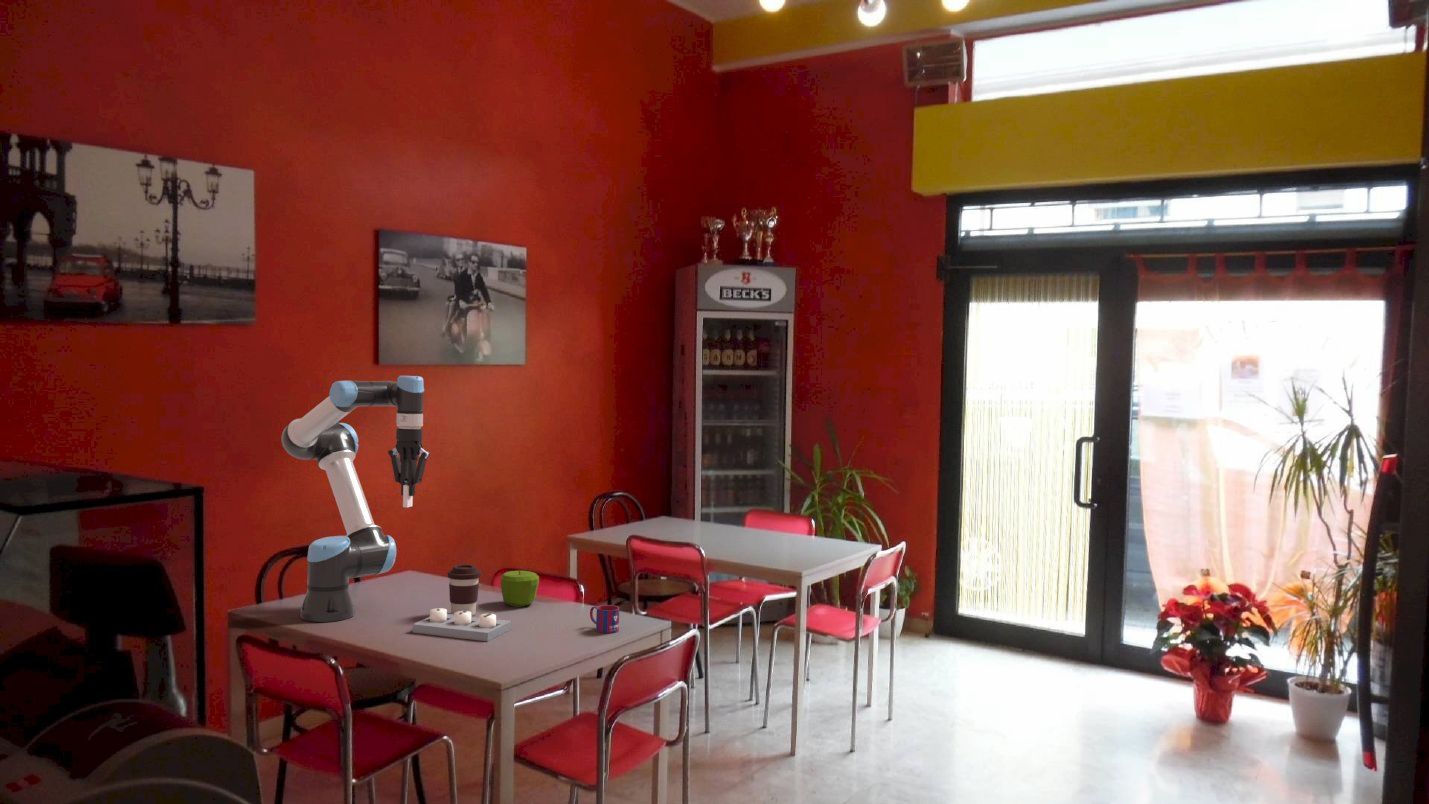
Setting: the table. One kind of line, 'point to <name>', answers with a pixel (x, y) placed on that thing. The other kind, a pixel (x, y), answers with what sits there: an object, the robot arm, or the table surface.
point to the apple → (519, 587)
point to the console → (461, 629)
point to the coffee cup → (464, 588)
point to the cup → (606, 618)
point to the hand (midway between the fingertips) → (407, 506)
